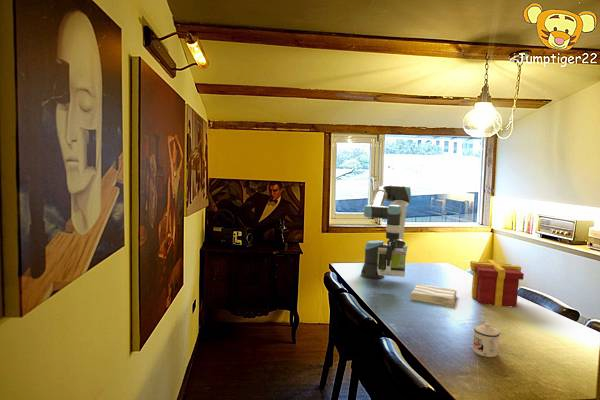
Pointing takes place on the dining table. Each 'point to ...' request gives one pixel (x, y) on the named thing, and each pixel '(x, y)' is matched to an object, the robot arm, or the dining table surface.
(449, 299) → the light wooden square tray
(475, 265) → the gift box
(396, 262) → the tea box
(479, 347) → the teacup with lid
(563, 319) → the dining table surface
